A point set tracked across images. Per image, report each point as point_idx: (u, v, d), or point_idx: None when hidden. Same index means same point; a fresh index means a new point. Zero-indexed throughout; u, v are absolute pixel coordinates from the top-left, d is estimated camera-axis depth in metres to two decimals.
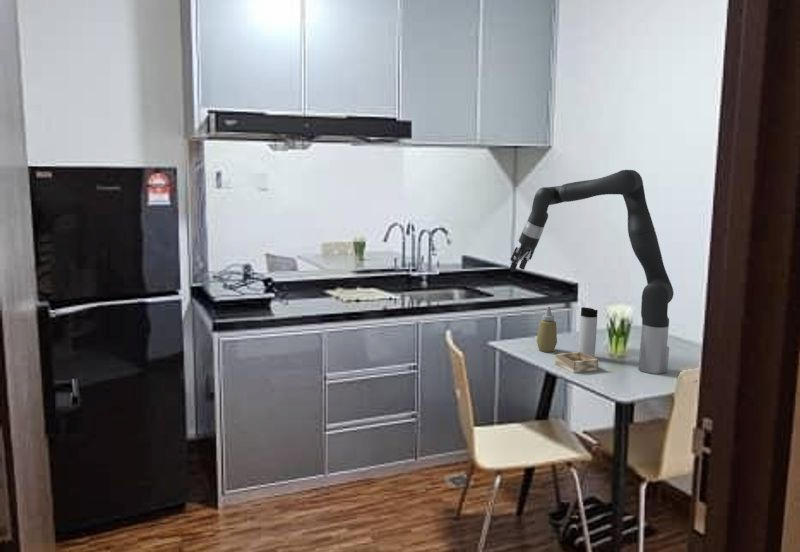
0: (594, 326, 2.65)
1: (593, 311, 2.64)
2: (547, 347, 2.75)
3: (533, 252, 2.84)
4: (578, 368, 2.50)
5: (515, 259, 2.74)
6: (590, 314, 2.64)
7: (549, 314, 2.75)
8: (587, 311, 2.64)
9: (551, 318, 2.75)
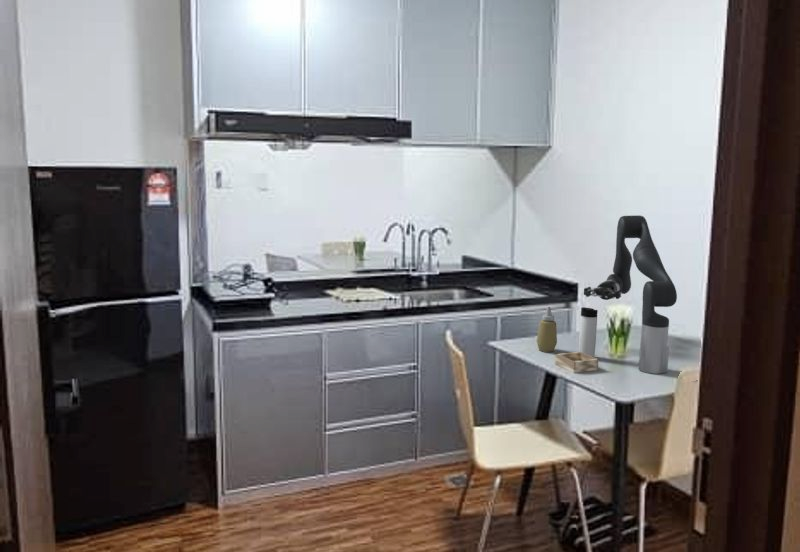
0: (594, 326, 2.65)
1: (593, 311, 2.64)
2: (547, 347, 2.75)
3: (619, 291, 2.79)
4: (578, 368, 2.50)
5: None
6: (590, 314, 2.64)
7: (549, 314, 2.75)
8: (587, 311, 2.64)
9: (551, 318, 2.75)
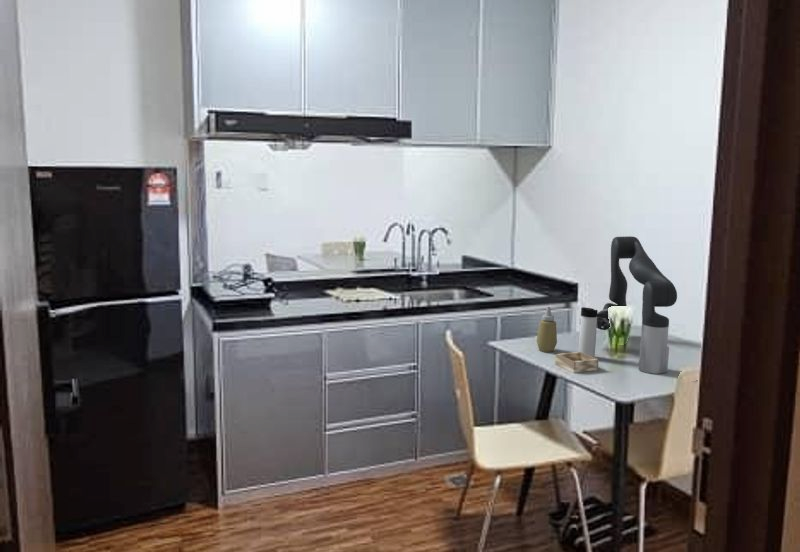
0: (594, 326, 2.65)
1: (593, 311, 2.64)
2: (547, 347, 2.75)
3: None
4: (578, 368, 2.50)
5: None
6: (590, 314, 2.64)
7: (549, 314, 2.75)
8: (587, 311, 2.64)
9: (551, 318, 2.75)
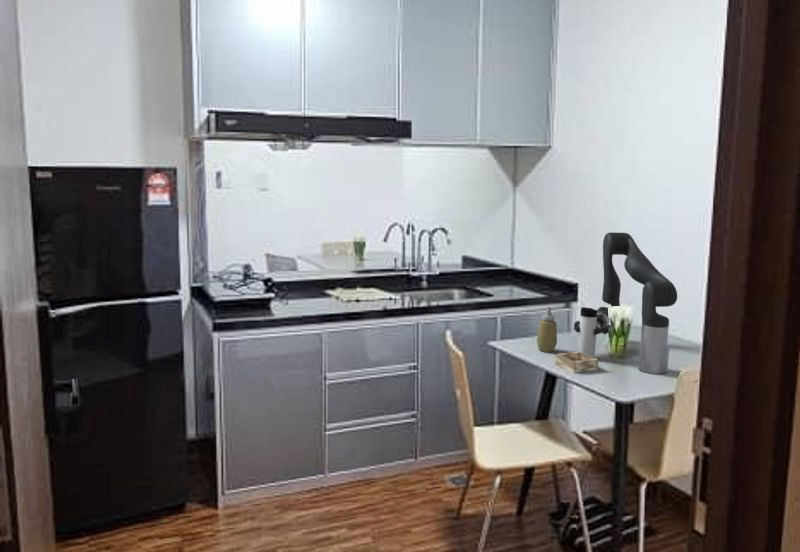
0: (594, 326, 2.65)
1: (593, 311, 2.64)
2: (547, 347, 2.75)
3: (608, 326, 2.69)
4: (578, 368, 2.50)
5: None
6: (590, 314, 2.64)
7: (549, 314, 2.75)
8: (587, 311, 2.64)
9: (551, 318, 2.75)
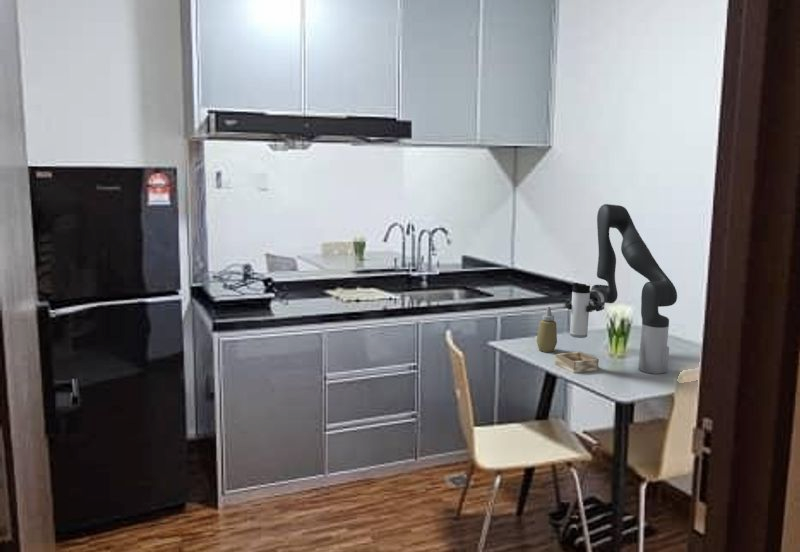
0: (586, 302, 2.51)
1: (585, 287, 2.49)
2: (547, 347, 2.75)
3: (601, 303, 2.55)
4: (578, 368, 2.50)
5: None
6: (582, 290, 2.50)
7: (549, 314, 2.75)
8: (579, 287, 2.50)
9: (551, 318, 2.75)
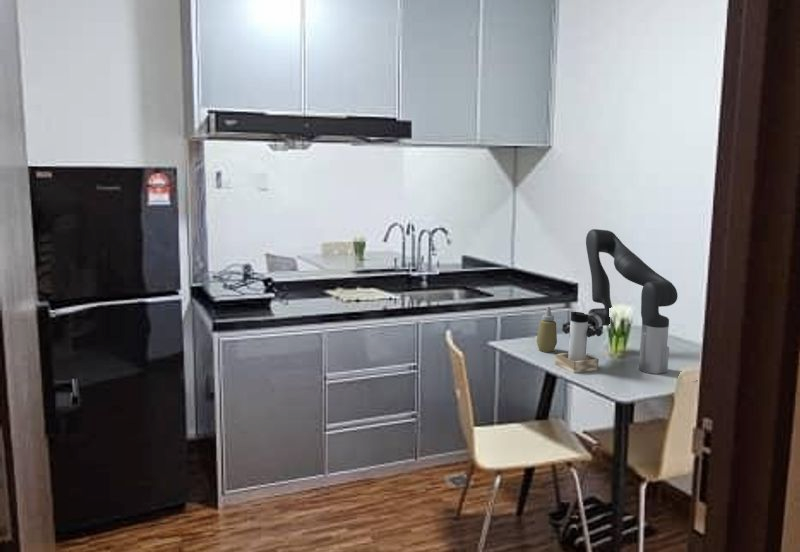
0: (584, 332, 2.52)
1: (583, 316, 2.50)
2: (547, 347, 2.75)
3: (601, 328, 2.56)
4: (578, 368, 2.50)
5: None
6: (580, 319, 2.51)
7: (549, 314, 2.75)
8: (577, 316, 2.51)
9: (551, 318, 2.75)
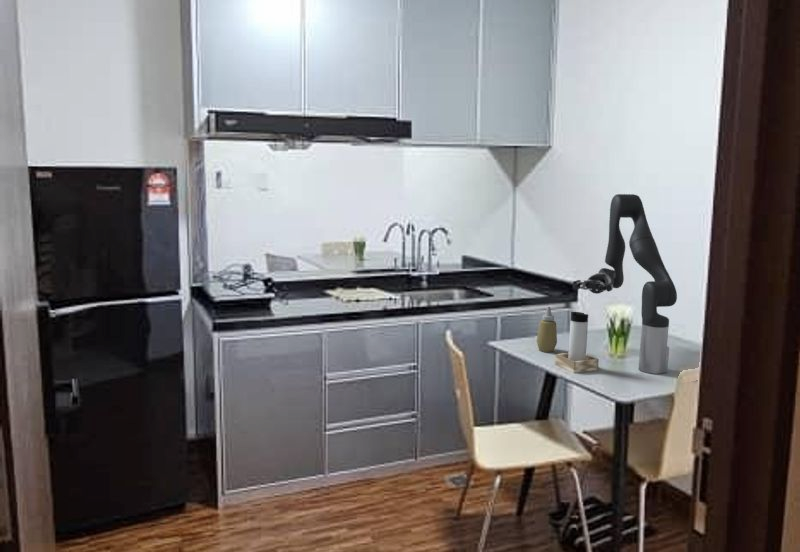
0: (584, 331, 2.52)
1: (583, 316, 2.51)
2: (547, 347, 2.75)
3: (611, 283, 2.62)
4: (578, 368, 2.50)
5: None
6: (580, 319, 2.51)
7: (549, 314, 2.75)
8: (577, 316, 2.51)
9: (551, 318, 2.75)
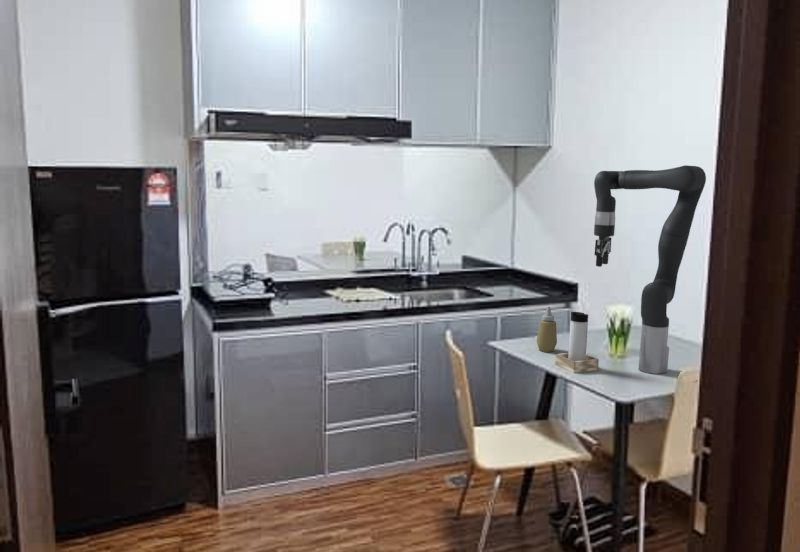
0: (584, 331, 2.52)
1: (583, 316, 2.51)
2: (547, 347, 2.75)
3: None
4: (578, 368, 2.50)
5: (599, 252, 2.60)
6: (580, 319, 2.51)
7: (549, 314, 2.75)
8: (577, 316, 2.51)
9: (551, 318, 2.75)
